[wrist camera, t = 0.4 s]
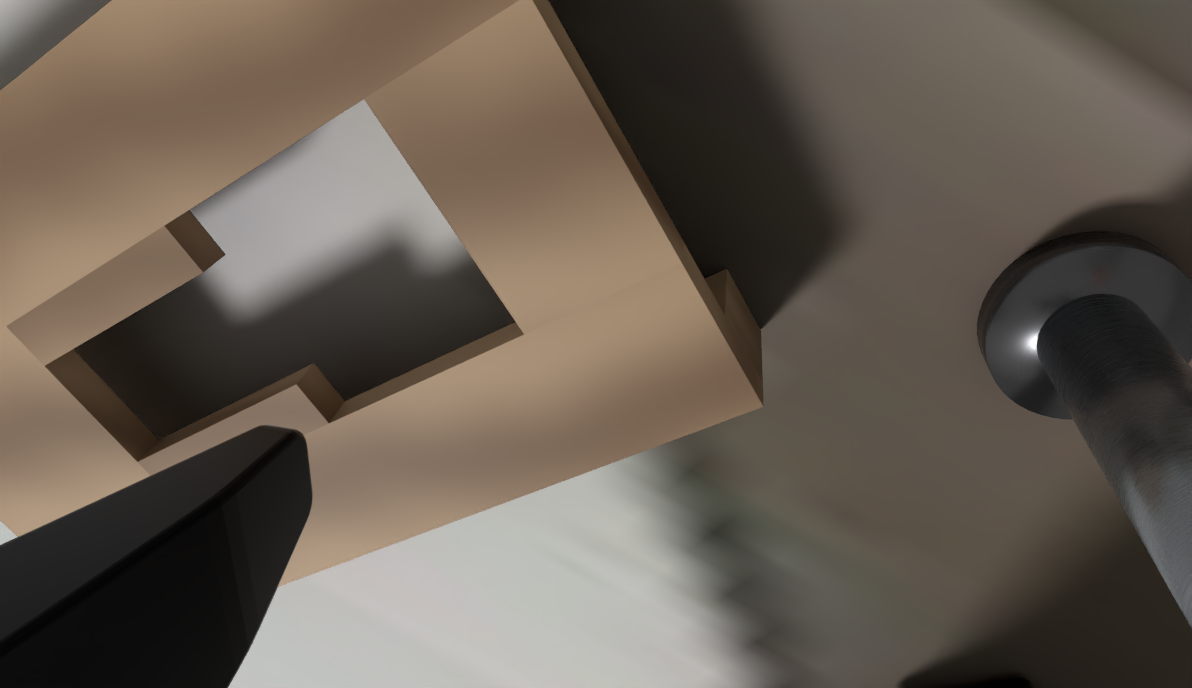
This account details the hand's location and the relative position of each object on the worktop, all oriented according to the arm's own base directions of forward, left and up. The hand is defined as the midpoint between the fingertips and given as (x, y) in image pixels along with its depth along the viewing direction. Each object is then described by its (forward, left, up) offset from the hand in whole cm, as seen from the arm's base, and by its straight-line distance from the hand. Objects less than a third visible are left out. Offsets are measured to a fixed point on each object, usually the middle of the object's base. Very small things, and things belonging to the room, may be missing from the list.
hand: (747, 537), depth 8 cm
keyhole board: (+2, +13, -14) cm, 19 cm away
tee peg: (-8, -5, -14) cm, 17 cm away
